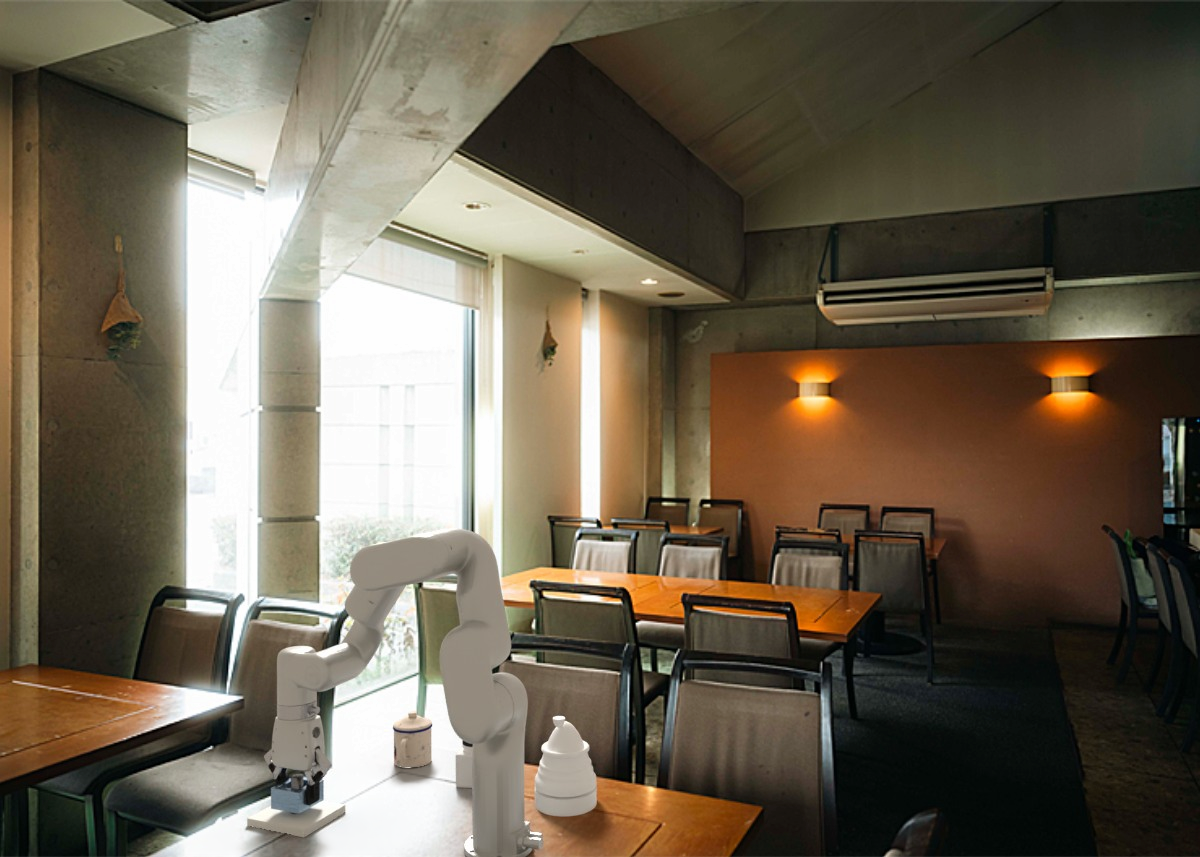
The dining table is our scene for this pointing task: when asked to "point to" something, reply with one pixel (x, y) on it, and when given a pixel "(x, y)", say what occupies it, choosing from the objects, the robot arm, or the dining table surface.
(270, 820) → the base plate
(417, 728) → the teacup with lid
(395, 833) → the dining table surface
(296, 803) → the collar
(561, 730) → the honey pot
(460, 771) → the medicine bottle
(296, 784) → the steel post
